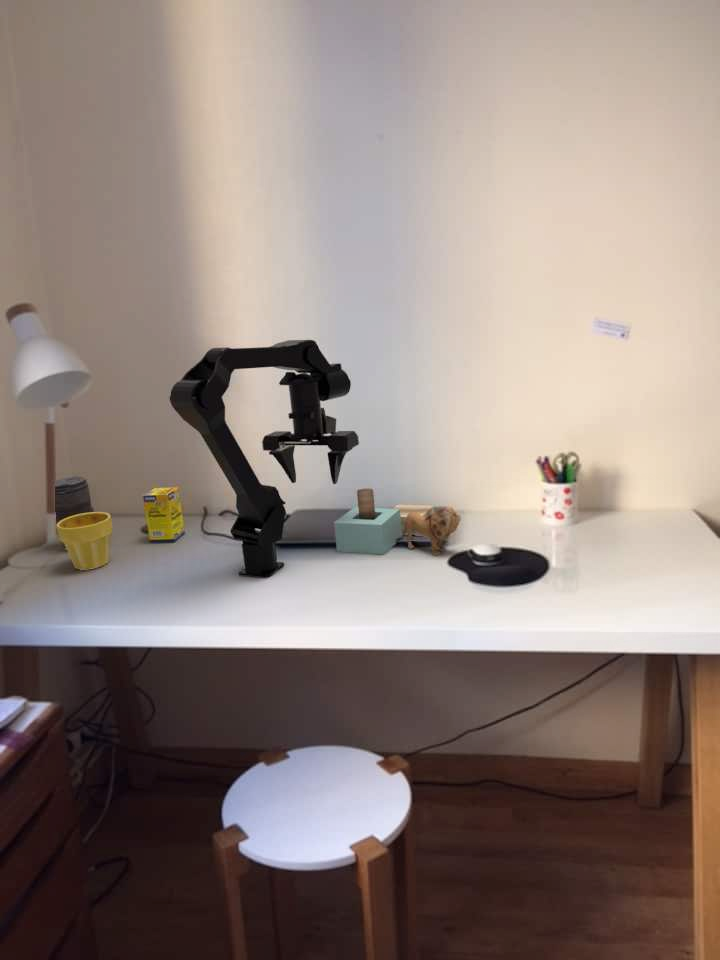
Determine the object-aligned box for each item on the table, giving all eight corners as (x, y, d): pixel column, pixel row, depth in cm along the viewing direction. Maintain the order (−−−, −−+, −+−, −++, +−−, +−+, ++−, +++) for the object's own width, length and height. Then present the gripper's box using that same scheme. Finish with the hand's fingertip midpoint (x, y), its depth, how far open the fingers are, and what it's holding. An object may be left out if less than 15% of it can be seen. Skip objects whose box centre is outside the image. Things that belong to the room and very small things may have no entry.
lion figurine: (466, 549, 140) (464, 504, 138) (452, 559, 136) (449, 512, 134) (403, 539, 149) (400, 496, 147) (388, 547, 145) (384, 503, 143)
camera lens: (64, 543, 167) (51, 479, 164) (101, 537, 169) (89, 474, 165) (57, 554, 160) (43, 488, 156) (96, 549, 161) (83, 482, 157)
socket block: (383, 554, 142) (381, 524, 140) (336, 551, 146) (333, 522, 144) (402, 537, 150) (399, 508, 149) (357, 534, 154) (354, 507, 153)
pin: (373, 532, 145) (369, 492, 143) (358, 531, 146) (354, 492, 145) (378, 527, 148) (375, 488, 146) (364, 526, 149) (360, 488, 147)
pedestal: (422, 536, 150) (421, 517, 149) (385, 534, 153) (384, 516, 152) (434, 523, 157) (433, 505, 156) (399, 522, 160) (398, 504, 159)
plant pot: (106, 572, 146) (97, 525, 143) (56, 576, 147) (46, 529, 144) (126, 554, 156) (118, 509, 153) (78, 557, 157) (70, 513, 154)
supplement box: (175, 542, 160) (167, 494, 158) (149, 543, 162) (141, 495, 159) (186, 533, 166) (178, 486, 163) (161, 534, 167) (153, 487, 164)
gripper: (366, 397, 146) (373, 473, 150) (284, 399, 154) (292, 471, 158) (342, 407, 137) (350, 488, 141) (256, 409, 144) (266, 486, 148)
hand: (314, 483), depth 147 cm, fingers open, 9 cm apart
